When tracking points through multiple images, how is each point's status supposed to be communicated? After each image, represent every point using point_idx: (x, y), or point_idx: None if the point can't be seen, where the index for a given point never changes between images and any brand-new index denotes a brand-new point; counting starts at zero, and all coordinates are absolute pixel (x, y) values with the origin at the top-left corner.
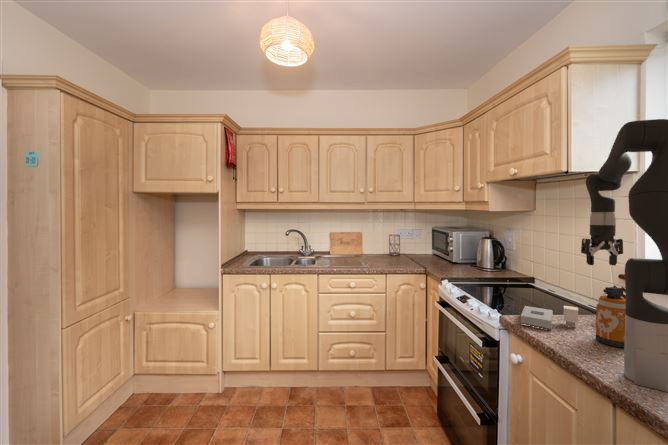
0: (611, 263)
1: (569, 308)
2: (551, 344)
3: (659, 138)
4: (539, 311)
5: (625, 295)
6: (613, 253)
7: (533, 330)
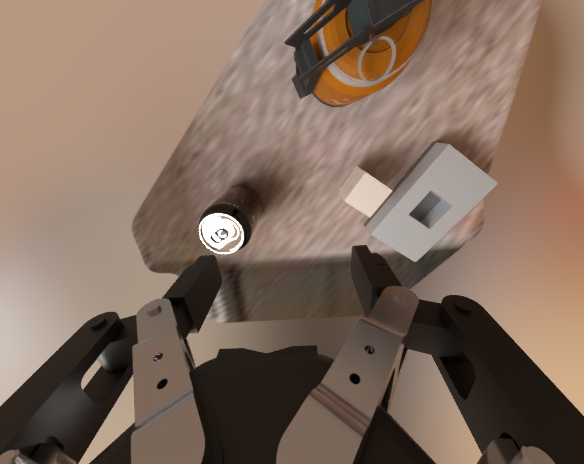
0: (215, 275)
1: (377, 189)
2: (515, 36)
3: None
4: (414, 221)
5: (311, 28)
6: (177, 320)
7: (474, 143)
